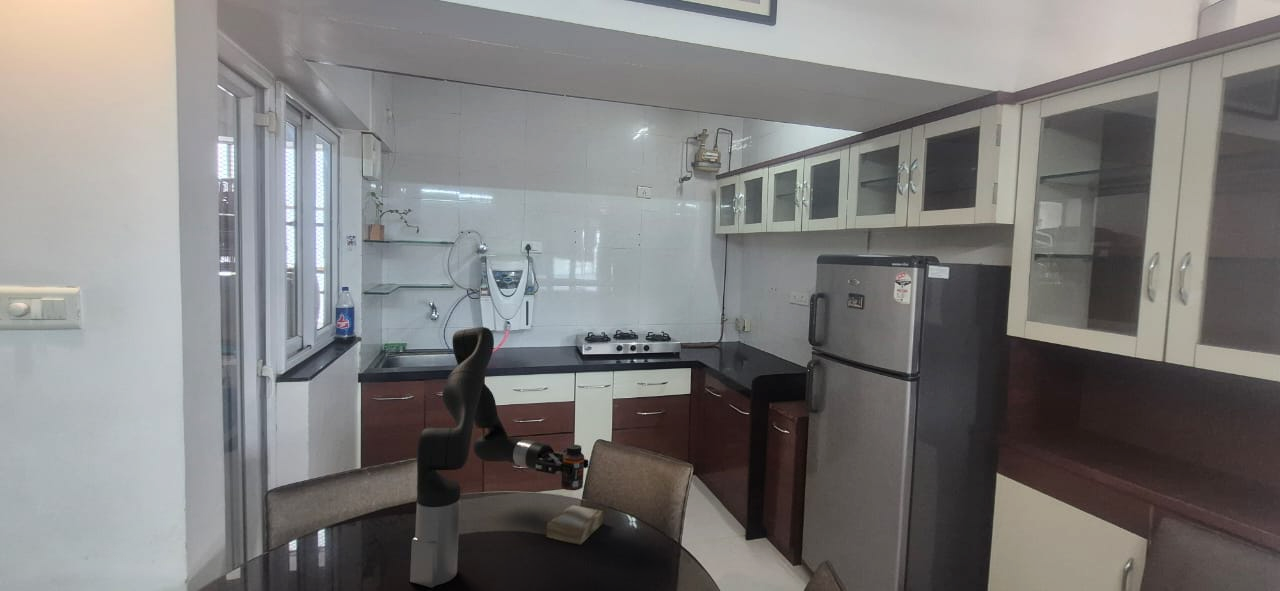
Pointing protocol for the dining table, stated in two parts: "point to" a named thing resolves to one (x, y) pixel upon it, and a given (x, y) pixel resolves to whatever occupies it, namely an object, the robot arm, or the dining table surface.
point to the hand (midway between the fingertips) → (580, 467)
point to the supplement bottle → (576, 460)
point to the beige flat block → (574, 524)
